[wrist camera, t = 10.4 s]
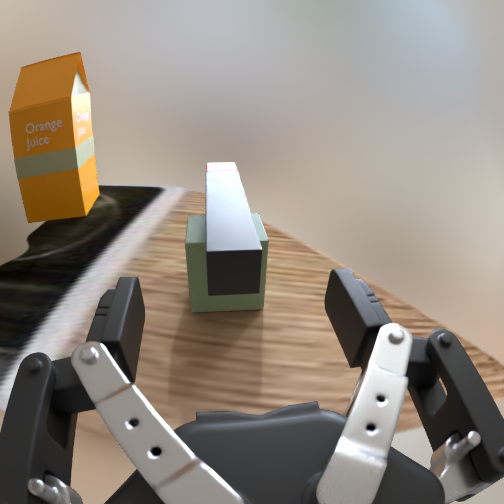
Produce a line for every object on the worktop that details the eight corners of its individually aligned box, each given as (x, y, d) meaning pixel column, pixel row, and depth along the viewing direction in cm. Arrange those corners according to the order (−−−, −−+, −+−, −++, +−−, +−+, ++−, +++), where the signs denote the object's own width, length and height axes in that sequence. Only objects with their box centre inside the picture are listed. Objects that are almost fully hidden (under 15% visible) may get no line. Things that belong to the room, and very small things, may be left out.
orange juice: (86, 216, 34) (70, 49, 24) (27, 223, 32) (5, 68, 22) (100, 193, 41) (90, 53, 30) (47, 200, 39) (32, 67, 28)
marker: (259, 293, 15) (262, 249, 13) (208, 296, 14) (205, 251, 13) (234, 189, 27) (235, 162, 25) (206, 189, 26) (206, 162, 25)
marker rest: (263, 309, 22) (268, 240, 19) (191, 312, 21) (185, 243, 18) (255, 276, 25) (258, 213, 22) (192, 278, 25) (188, 214, 22)
